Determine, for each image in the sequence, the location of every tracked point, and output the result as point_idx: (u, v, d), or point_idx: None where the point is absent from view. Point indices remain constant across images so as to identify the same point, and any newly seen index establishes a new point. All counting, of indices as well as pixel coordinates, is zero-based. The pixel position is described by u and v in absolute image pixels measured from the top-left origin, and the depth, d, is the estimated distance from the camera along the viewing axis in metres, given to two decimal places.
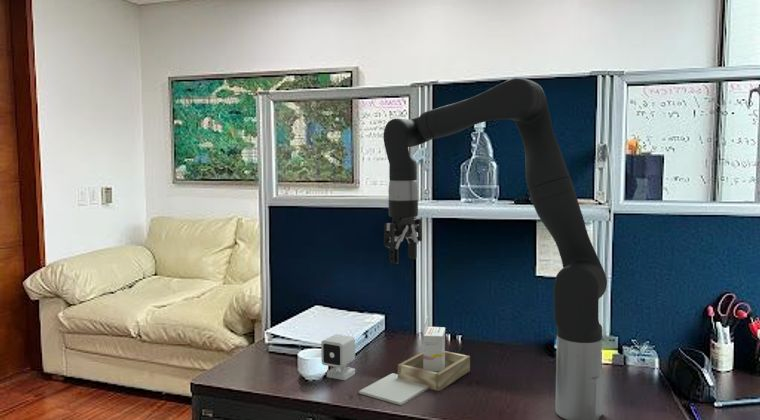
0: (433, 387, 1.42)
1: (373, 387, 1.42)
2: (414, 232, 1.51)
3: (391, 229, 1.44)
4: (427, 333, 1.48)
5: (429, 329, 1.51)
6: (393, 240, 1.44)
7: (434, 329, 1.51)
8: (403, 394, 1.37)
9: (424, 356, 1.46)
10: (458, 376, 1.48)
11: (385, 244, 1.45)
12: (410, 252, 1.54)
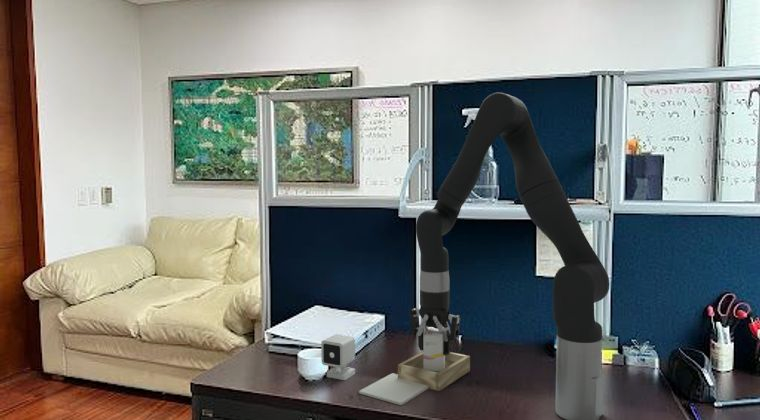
0: (433, 387, 1.42)
1: (373, 387, 1.42)
2: None
3: (459, 321, 1.46)
4: (427, 333, 1.48)
5: (429, 329, 1.51)
6: None
7: (434, 329, 1.51)
8: (403, 394, 1.37)
9: (424, 356, 1.46)
10: (458, 376, 1.48)
11: (455, 337, 1.45)
12: None
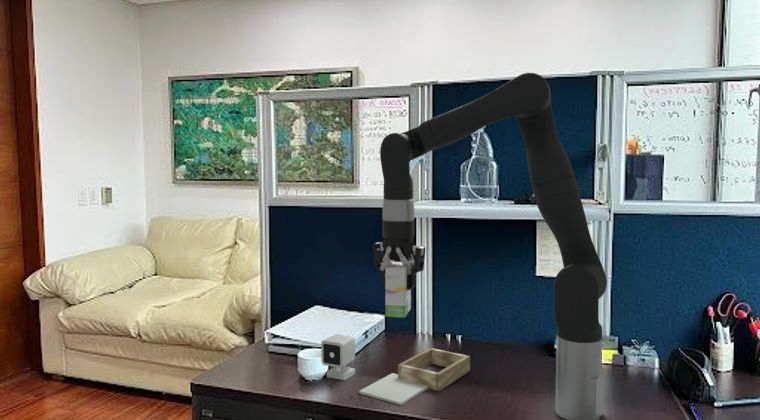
0: (433, 387, 1.42)
1: (373, 387, 1.42)
2: None
3: (424, 253, 1.36)
4: (390, 266, 1.38)
5: (393, 263, 1.42)
6: None
7: (399, 263, 1.42)
8: (403, 394, 1.37)
9: (386, 290, 1.37)
10: (458, 376, 1.48)
11: (418, 269, 1.36)
12: None
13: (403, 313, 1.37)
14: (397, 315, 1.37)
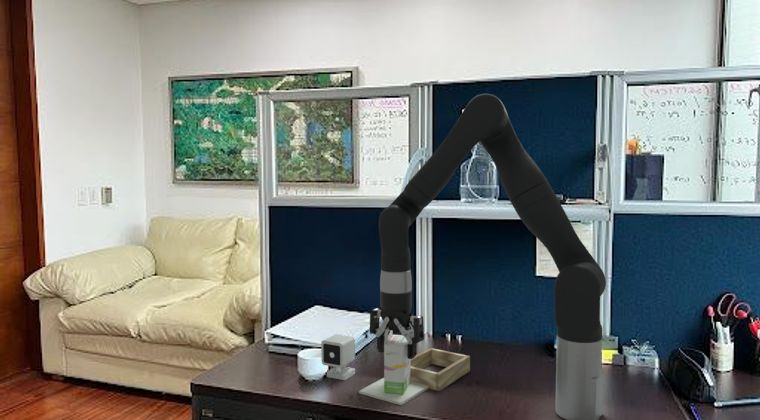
0: (433, 387, 1.42)
1: (373, 387, 1.42)
2: None
3: (422, 322, 1.37)
4: (389, 342, 1.39)
5: (393, 337, 1.42)
6: None
7: (398, 337, 1.42)
8: (403, 394, 1.37)
9: (385, 366, 1.37)
10: (458, 376, 1.48)
11: (419, 339, 1.36)
12: (382, 345, 1.43)
13: (402, 390, 1.37)
14: (396, 392, 1.37)
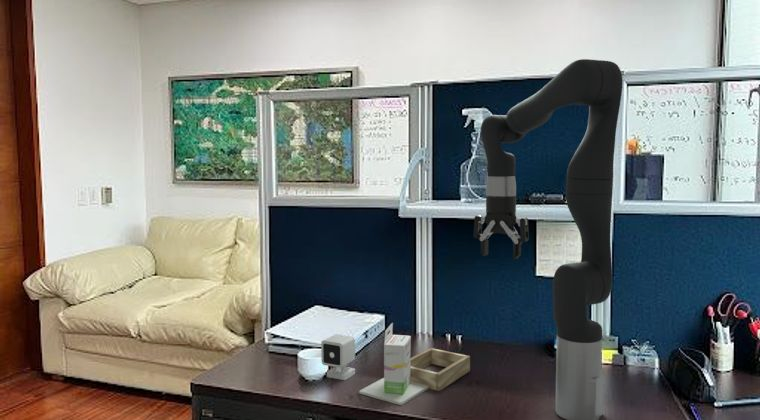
0: (433, 387, 1.42)
1: (373, 387, 1.42)
2: None
3: (527, 223, 1.47)
4: (389, 342, 1.39)
5: (393, 337, 1.42)
6: None
7: (398, 338, 1.42)
8: (403, 394, 1.37)
9: (385, 366, 1.38)
10: (458, 376, 1.48)
11: (525, 239, 1.46)
12: (485, 249, 1.53)
13: (402, 390, 1.37)
14: (396, 392, 1.37)
